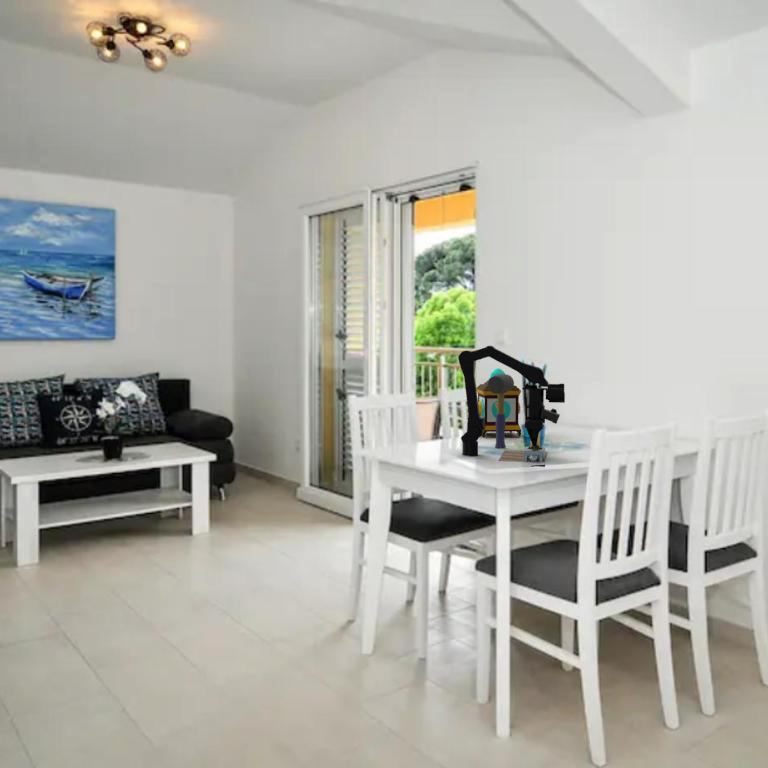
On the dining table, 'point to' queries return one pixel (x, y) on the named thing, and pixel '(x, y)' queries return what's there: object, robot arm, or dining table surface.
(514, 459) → the board
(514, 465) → the dining table surface
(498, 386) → the rubber mallet
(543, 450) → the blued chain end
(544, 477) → the dining table surface
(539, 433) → the pin
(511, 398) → the decorative lantern
